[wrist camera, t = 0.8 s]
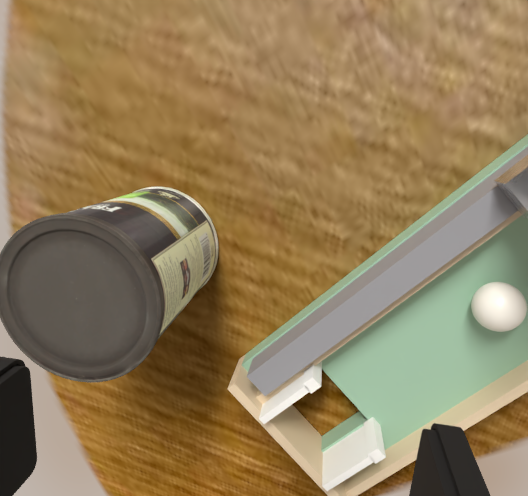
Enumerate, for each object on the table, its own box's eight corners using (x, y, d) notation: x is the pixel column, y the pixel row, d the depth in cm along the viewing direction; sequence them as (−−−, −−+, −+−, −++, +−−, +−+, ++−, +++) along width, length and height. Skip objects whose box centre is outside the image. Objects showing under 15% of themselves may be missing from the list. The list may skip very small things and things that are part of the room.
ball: (495, 266, 34) (514, 281, 30) (525, 301, 34) (547, 320, 31) (455, 294, 35) (469, 312, 31) (484, 328, 35) (501, 349, 32)
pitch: (533, 130, 33) (576, 129, 27) (649, 275, 34) (713, 303, 29) (239, 359, 41) (224, 395, 35) (342, 470, 42) (344, 523, 37)
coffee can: (85, 216, 40) (-41, 258, 26) (185, 166, 37) (102, 183, 24) (141, 317, 41) (49, 406, 28) (239, 274, 39) (191, 349, 25)
